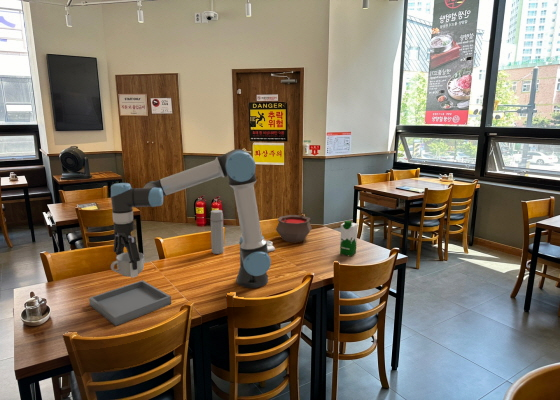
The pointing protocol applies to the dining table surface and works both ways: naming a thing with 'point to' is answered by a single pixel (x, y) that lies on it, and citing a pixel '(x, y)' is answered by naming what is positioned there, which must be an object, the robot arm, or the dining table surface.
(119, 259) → the teacup
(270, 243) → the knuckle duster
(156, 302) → the tray
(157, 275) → the dining table surface
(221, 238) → the water bottle
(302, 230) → the cooking pot
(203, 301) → the dining table surface
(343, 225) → the milk carton
